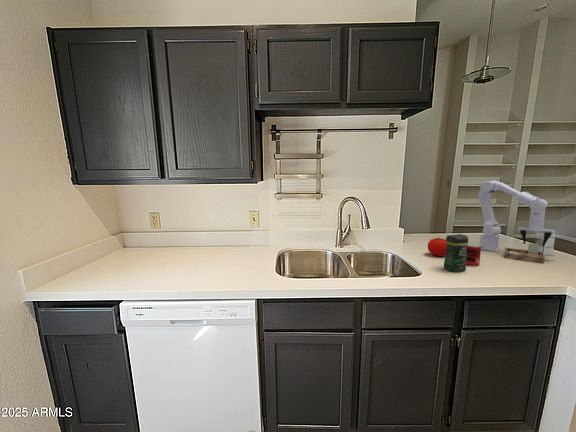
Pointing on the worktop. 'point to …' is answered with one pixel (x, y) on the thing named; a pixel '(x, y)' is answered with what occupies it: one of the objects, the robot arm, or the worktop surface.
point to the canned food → (473, 254)
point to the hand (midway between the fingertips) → (533, 244)
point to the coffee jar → (456, 253)
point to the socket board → (523, 255)
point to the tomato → (437, 246)
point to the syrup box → (548, 245)
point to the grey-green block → (533, 248)
